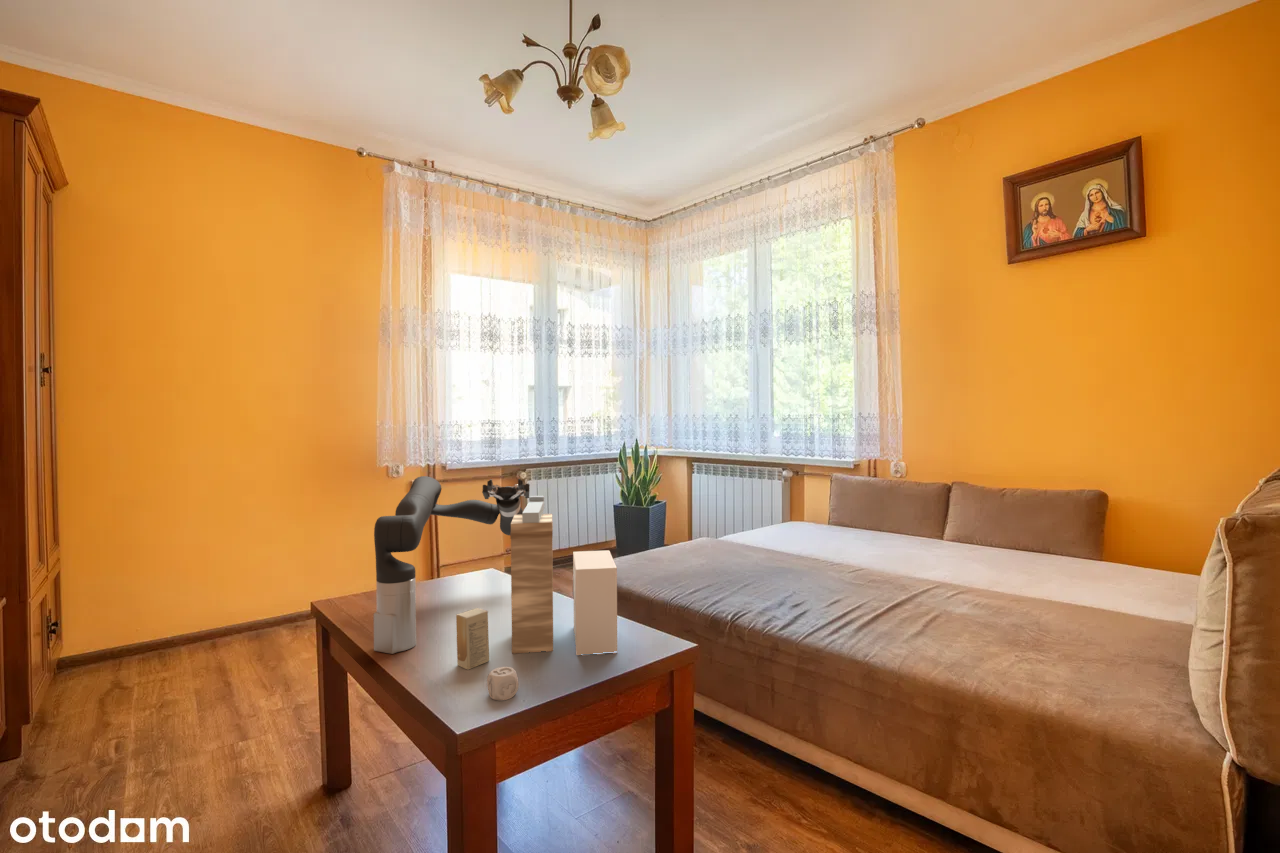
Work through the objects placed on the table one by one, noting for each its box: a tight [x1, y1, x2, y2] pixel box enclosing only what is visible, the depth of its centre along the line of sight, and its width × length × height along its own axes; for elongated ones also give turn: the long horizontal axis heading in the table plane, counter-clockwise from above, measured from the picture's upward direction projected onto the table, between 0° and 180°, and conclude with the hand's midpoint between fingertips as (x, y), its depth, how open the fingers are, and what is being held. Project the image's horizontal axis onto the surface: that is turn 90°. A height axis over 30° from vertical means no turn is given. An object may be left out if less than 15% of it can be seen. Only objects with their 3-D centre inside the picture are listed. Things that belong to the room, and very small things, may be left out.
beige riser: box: [572, 549, 618, 655], centre depth 155 cm, size 20×10×21 cm, turn 8°
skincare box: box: [455, 607, 490, 670], centre depth 140 cm, size 6×4×12 cm
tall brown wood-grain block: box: [509, 513, 554, 654], centre depth 153 cm, size 14×10×32 cm
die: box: [486, 666, 519, 702], centre depth 124 cm, size 5×5×5 cm
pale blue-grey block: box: [522, 495, 545, 523], centre depth 158 cm, size 24×4×4 cm, turn 6°
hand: (504, 481), depth 180 cm, fingers open, 8 cm apart
